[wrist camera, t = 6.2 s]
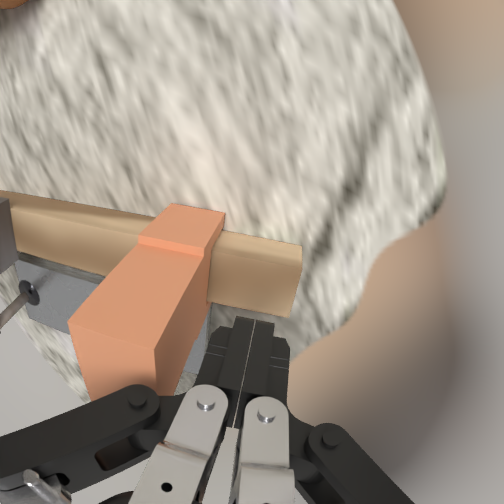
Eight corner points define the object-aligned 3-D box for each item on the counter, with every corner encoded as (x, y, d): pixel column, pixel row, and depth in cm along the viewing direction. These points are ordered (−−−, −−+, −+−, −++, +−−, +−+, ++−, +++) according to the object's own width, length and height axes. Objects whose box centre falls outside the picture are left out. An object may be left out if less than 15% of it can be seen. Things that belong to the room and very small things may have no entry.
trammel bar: (-14, 179, 18) (-79, 213, 12) (304, 234, 17) (307, 316, 11) (4, 277, 22) (-45, 322, 16) (272, 354, 21) (261, 441, 15)
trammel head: (171, 203, 17) (64, 311, 8) (225, 212, 17) (153, 339, 8) (168, 333, 22) (112, 451, 13) (209, 344, 21) (167, 470, 13)
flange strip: (19, 251, 21) (11, 257, 20) (211, 302, 20) (207, 312, 19) (33, 310, 23) (27, 317, 23) (205, 365, 23) (202, 376, 22)
